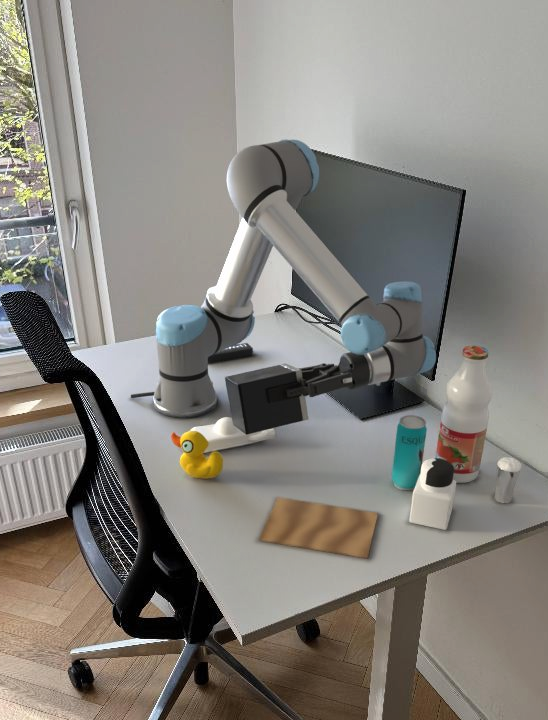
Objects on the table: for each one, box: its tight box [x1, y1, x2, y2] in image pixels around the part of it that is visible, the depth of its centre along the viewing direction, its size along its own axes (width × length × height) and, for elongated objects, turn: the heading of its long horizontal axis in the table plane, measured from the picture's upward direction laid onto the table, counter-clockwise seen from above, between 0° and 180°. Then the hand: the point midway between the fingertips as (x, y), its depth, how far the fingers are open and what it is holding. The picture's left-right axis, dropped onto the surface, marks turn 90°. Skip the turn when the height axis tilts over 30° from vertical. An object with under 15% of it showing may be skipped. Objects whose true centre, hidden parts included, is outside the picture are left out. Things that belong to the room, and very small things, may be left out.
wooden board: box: [258, 497, 379, 559], centre depth 142 cm, size 20×14×1 cm
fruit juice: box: [434, 345, 494, 484], centre depth 153 cm, size 9×9×28 cm
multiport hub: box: [208, 342, 254, 364], centre depth 209 cm, size 4×14×2 cm, turn 116°
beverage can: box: [391, 414, 428, 492], centre depth 152 cm, size 6×6×15 cm
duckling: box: [170, 430, 224, 480], centre depth 154 cm, size 11×5×10 cm, turn 68°
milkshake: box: [494, 456, 528, 504], centre depth 149 cm, size 4×5×10 cm
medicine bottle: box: [408, 457, 457, 531], centre depth 143 cm, size 7×7×12 cm
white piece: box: [189, 416, 276, 454], centre depth 168 cm, size 10×20×6 cm, turn 111°
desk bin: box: [224, 363, 309, 435], centre depth 149 cm, size 13×9×10 cm
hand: (260, 391), depth 148 cm, fingers closed on desk bin, 9 cm apart
